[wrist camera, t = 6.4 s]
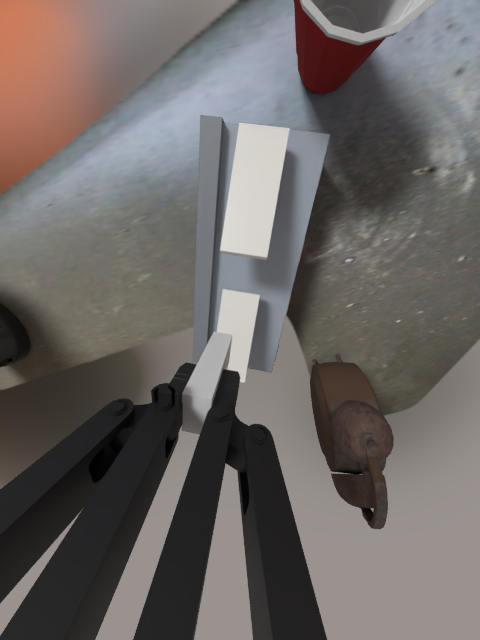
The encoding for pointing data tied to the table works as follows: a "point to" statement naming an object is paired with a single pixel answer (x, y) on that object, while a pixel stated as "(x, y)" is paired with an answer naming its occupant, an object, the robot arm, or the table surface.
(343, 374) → the alarm clock
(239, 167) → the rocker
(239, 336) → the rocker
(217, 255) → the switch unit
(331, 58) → the plastic cup
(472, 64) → the table surface
